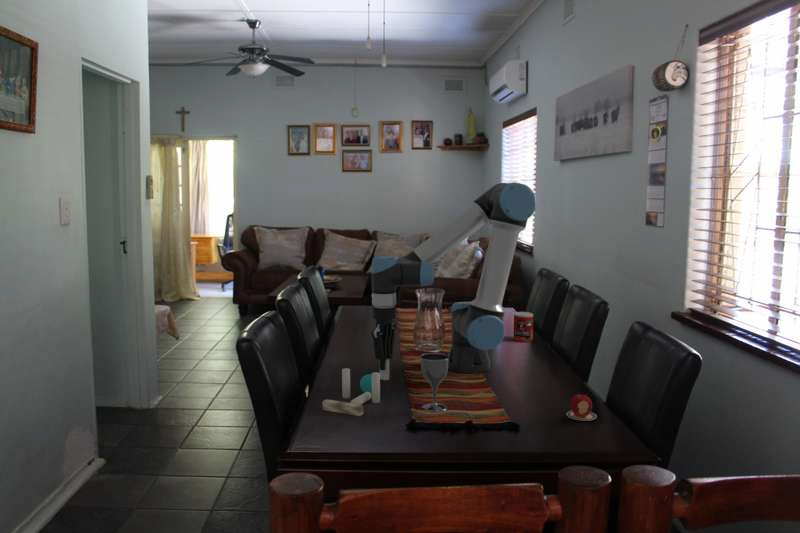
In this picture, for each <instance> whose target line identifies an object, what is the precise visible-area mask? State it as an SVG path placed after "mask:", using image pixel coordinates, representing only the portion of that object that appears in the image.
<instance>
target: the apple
mask: <svg viewBox="0 0 800 533" xmlns="http://www.w3.org/2000/svg"><path fill="white" fill-rule="evenodd" d="M587 395H588V394H587V393H585V394H576V395H574V396H573V397H572V398H571V400H570V408H571V410H569V411H567V412H566V414H565V415H566V416H567V417H568V418H569V419H571V420H572V419H573V420H576V421H581V422H582V421H584V422H586V421H587V422H588V421H589V422H590V421H594V420H597V417H598V416H597V414H596V413H594V412H592V409H593V402H592V400H591V398H590V397H589V396H587Z"/></svg>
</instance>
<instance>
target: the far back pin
mask: <svg viewBox="0 0 800 533" xmlns="http://www.w3.org/2000/svg"><path fill="white" fill-rule="evenodd" d="M341 388H342V389H341V393H342V394H341V395H342V398H343V399H350V398H351V369H350V368H347V367H346V368H342V369H341Z"/></svg>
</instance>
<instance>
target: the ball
mask: <svg viewBox="0 0 800 533" xmlns="http://www.w3.org/2000/svg"><path fill="white" fill-rule="evenodd" d="M359 388H360V390H361V391H362V392H363V393H365V392H370V393H371V395H372V373H369V374H368V373H367V374H365V375H363V376H362V377H361V378H360V381H359Z"/></svg>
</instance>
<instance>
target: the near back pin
mask: <svg viewBox="0 0 800 533" xmlns="http://www.w3.org/2000/svg"><path fill="white" fill-rule="evenodd" d="M371 374H372V394H371V396H372V397H371V403H373V404H379V403H380V402H381V382H380V381H381V379H380V372H375V371H374V372H372V373H371Z"/></svg>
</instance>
